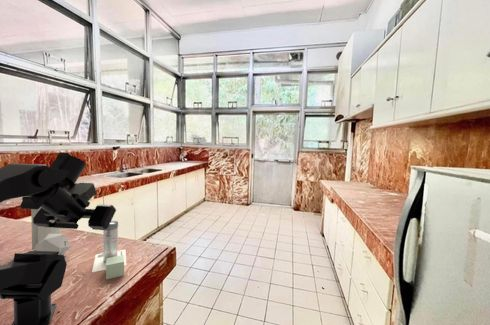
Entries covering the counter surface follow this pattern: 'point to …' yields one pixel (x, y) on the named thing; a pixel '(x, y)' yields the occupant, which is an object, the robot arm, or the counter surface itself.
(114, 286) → the counter surface
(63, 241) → the die
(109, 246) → the tin
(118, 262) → the block
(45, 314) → the robot arm
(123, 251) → the letter
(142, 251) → the counter surface
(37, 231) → the paper towel roll
